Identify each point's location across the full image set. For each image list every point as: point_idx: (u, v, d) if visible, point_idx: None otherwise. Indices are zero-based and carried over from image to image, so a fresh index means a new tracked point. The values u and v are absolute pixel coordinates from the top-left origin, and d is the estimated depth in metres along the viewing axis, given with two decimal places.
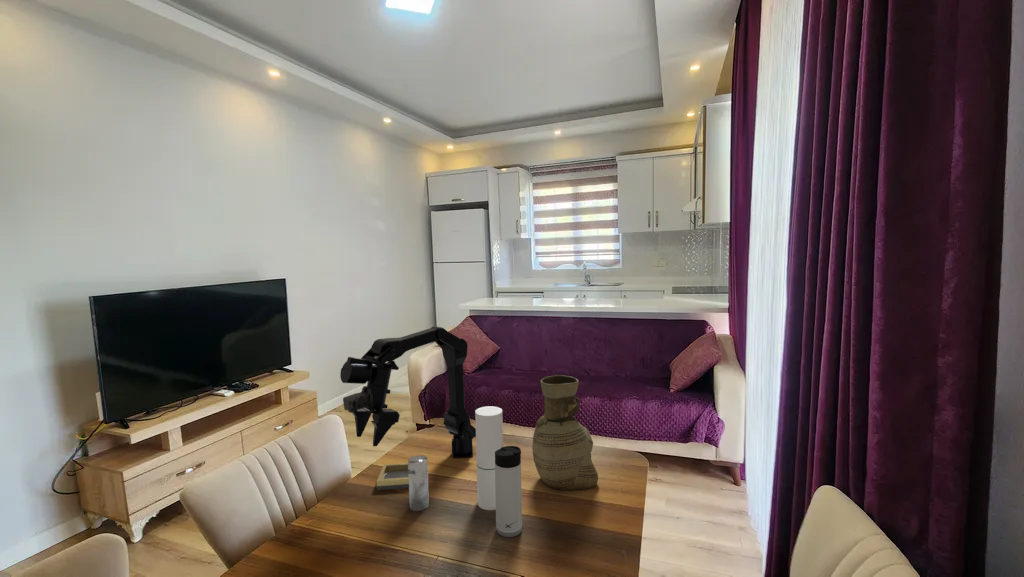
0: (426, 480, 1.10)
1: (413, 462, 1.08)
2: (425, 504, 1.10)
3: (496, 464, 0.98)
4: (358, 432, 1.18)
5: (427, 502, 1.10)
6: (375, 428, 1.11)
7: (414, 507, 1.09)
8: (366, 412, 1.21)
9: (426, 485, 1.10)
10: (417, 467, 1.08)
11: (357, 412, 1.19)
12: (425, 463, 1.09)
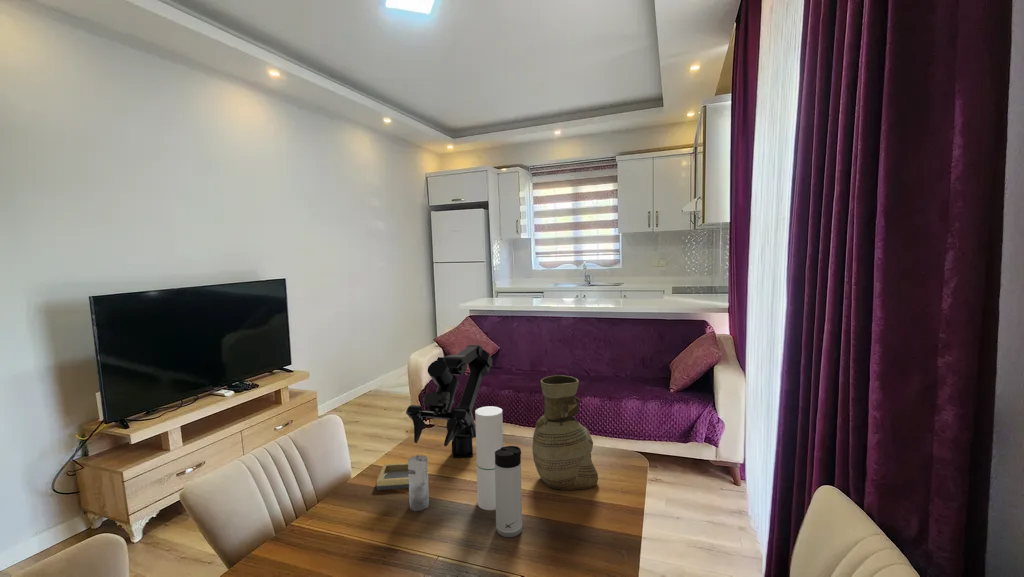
0: (426, 480, 1.10)
1: (413, 462, 1.08)
2: (425, 504, 1.10)
3: (496, 464, 0.98)
4: (416, 437, 1.19)
5: (427, 502, 1.10)
6: (451, 426, 1.18)
7: (414, 507, 1.09)
8: (422, 421, 1.24)
9: (426, 485, 1.10)
10: (417, 467, 1.08)
11: (419, 417, 1.22)
12: (425, 463, 1.09)
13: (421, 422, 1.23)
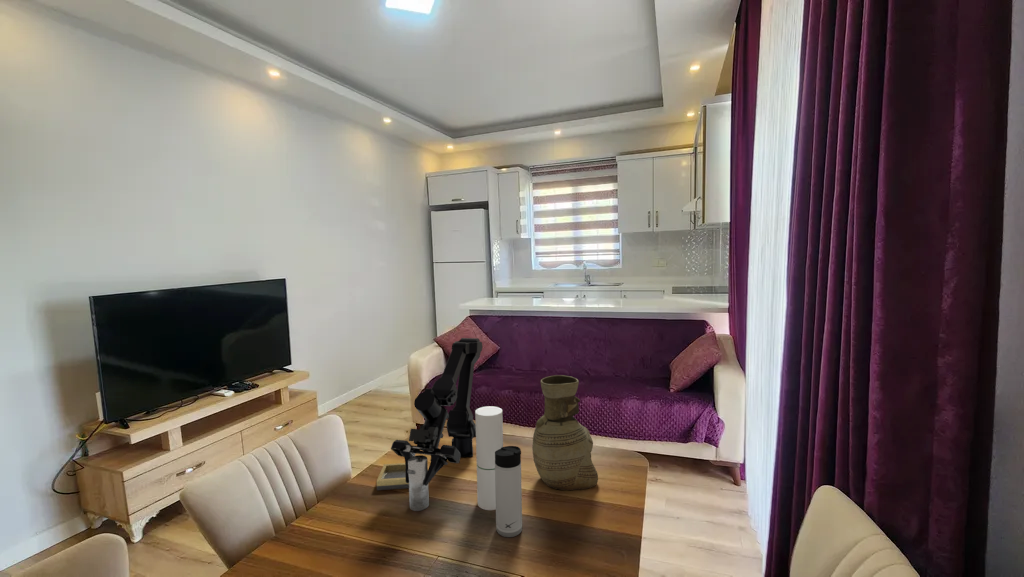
0: None
1: (413, 462, 1.08)
2: (425, 504, 1.10)
3: (496, 464, 0.98)
4: (408, 477, 1.10)
5: (427, 502, 1.10)
6: (432, 464, 1.10)
7: (414, 507, 1.09)
8: None
9: None
10: (417, 467, 1.08)
11: (411, 454, 1.13)
12: (425, 463, 1.09)
13: None
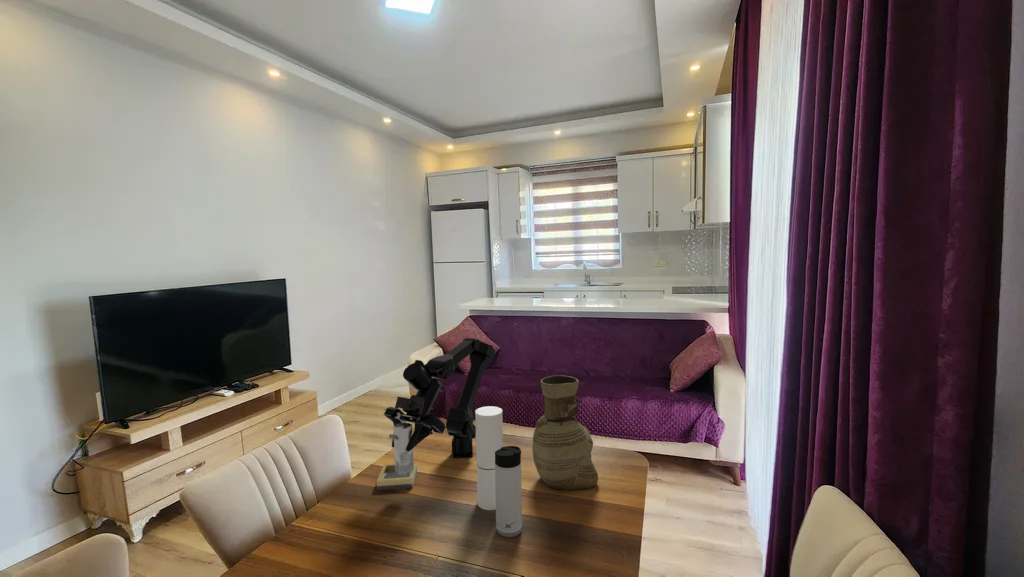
0: None
1: (397, 428, 1.14)
2: (408, 469, 1.14)
3: (496, 464, 0.98)
4: None
5: (411, 468, 1.15)
6: (415, 432, 1.15)
7: (397, 471, 1.14)
8: None
9: (409, 451, 1.14)
10: (400, 433, 1.13)
11: (399, 421, 1.19)
12: (408, 430, 1.14)
13: None
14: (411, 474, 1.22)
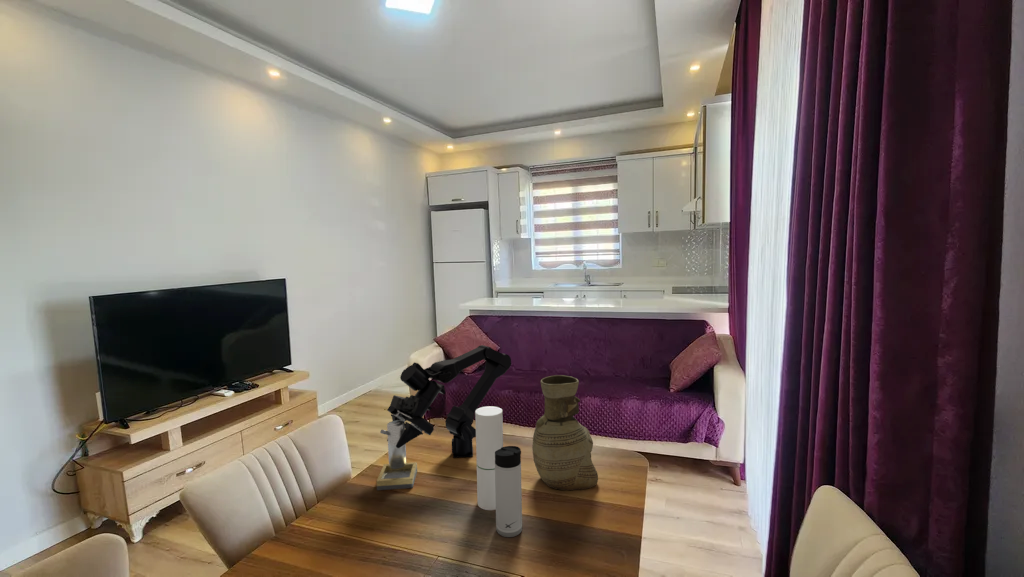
0: None
1: (389, 425, 1.22)
2: (398, 464, 1.22)
3: (496, 464, 0.98)
4: None
5: (401, 463, 1.22)
6: (405, 430, 1.21)
7: (389, 464, 1.22)
8: None
9: (400, 448, 1.22)
10: (390, 429, 1.21)
11: (397, 418, 1.27)
12: (398, 428, 1.21)
13: None
14: (411, 474, 1.22)
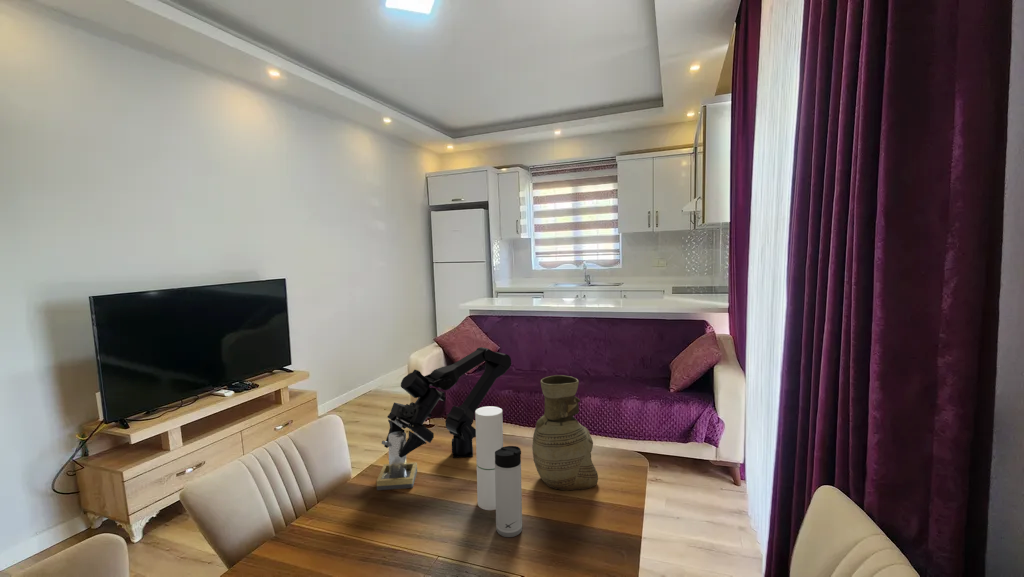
0: None
1: (390, 436, 1.22)
2: (399, 476, 1.22)
3: (496, 464, 0.98)
4: None
5: (401, 475, 1.22)
6: (408, 439, 1.20)
7: (390, 475, 1.23)
8: (400, 428, 1.30)
9: (400, 459, 1.22)
10: (392, 440, 1.21)
11: (394, 424, 1.28)
12: (400, 439, 1.22)
13: (398, 429, 1.29)
14: (411, 474, 1.22)
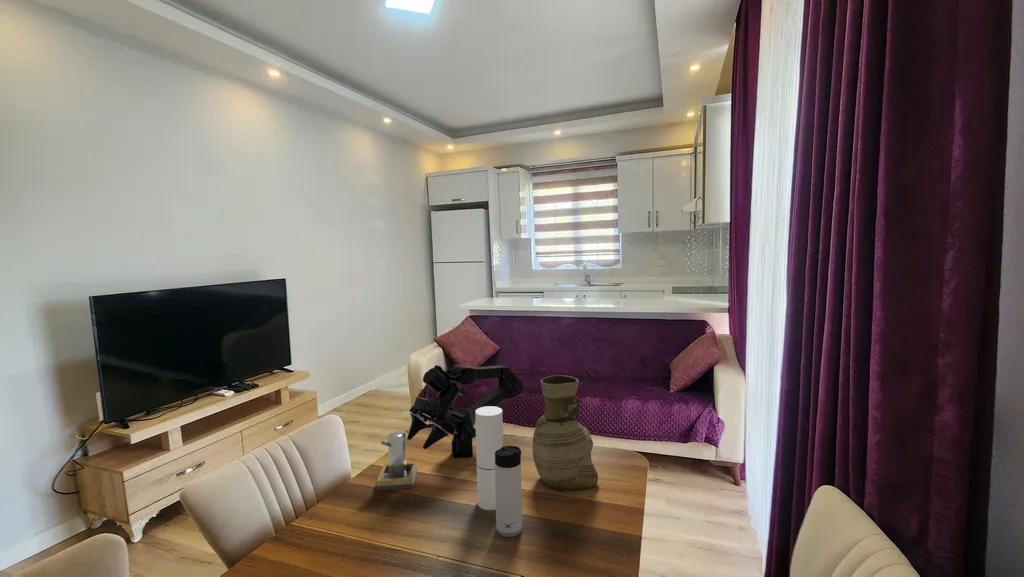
0: (400, 455, 1.22)
1: (390, 436, 1.22)
2: (399, 476, 1.22)
3: (496, 464, 0.98)
4: (410, 435, 1.32)
5: (401, 475, 1.22)
6: (432, 432, 1.25)
7: (390, 475, 1.23)
8: (422, 422, 1.35)
9: (400, 459, 1.22)
10: (391, 440, 1.21)
11: (416, 417, 1.34)
12: (399, 439, 1.22)
13: (420, 422, 1.35)
14: (411, 474, 1.22)
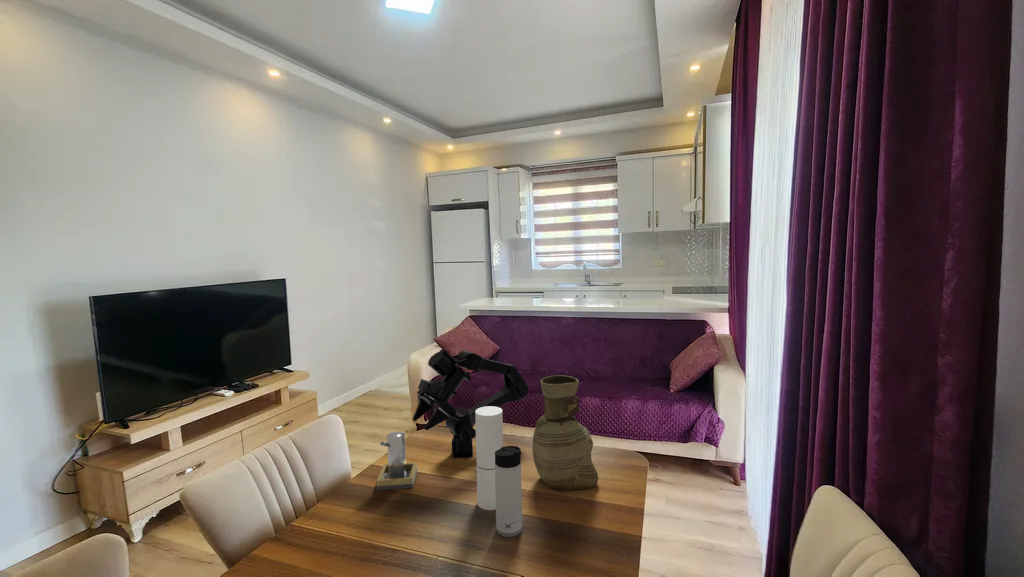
0: (400, 455, 1.22)
1: (389, 436, 1.22)
2: (398, 476, 1.22)
3: (496, 464, 0.98)
4: (415, 416, 1.35)
5: (401, 475, 1.22)
6: (433, 414, 1.28)
7: (389, 476, 1.23)
8: (428, 404, 1.38)
9: (400, 459, 1.22)
10: (390, 441, 1.21)
11: (422, 400, 1.37)
12: (398, 439, 1.21)
13: (426, 405, 1.38)
14: (411, 474, 1.22)
